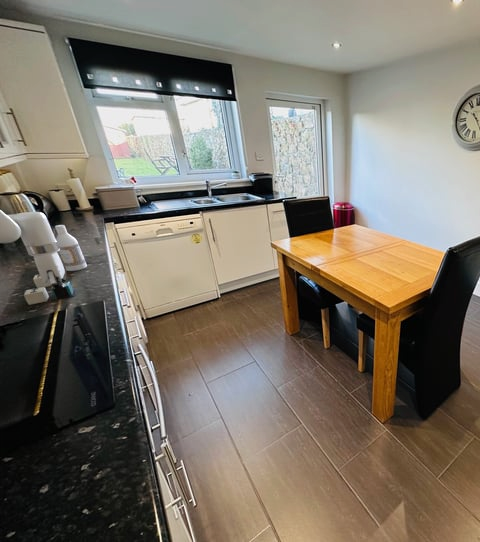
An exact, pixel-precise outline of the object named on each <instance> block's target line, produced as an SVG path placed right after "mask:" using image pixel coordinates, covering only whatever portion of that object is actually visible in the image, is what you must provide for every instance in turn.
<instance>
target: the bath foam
mask: <svg viewBox="0 0 480 542" xmlns="http://www.w3.org/2000/svg"><path fill="white" fill-rule="evenodd" d="M54 227H55V231H56V233H57V236H56V237H55V239H56V241H57V243H58V246H59V248H60V251H58V252H57V253H58V255H59V257H60V259H61V262H62V264H63V266H64V269H65V271H67V272H77V271H80V270H81V271H82V270H84V269H86V268H88V265H87V261H86V259H85V257H84V254H83V251H82V250H81V247H80V244H79V242H78V240H77V239H76V238H75V237H74V236H72V235H71V234H69V233H68V231H67V228H66V226H65V224H58V225H55V226H54Z"/></svg>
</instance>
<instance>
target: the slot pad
mask: <svg viewBox="0 0 480 542" xmlns="http://www.w3.org/2000/svg"><path fill="white" fill-rule="evenodd" d="M76 292H77V290H75V289H73V294H72V295H71V296H68V297H63V298H57V299H55V297H54V295H53V294H52V298H51V302H54V301H58V300H59V301H60V300H63V299H64V300H65V299H68V298H73V297H75V296H76Z"/></svg>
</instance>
